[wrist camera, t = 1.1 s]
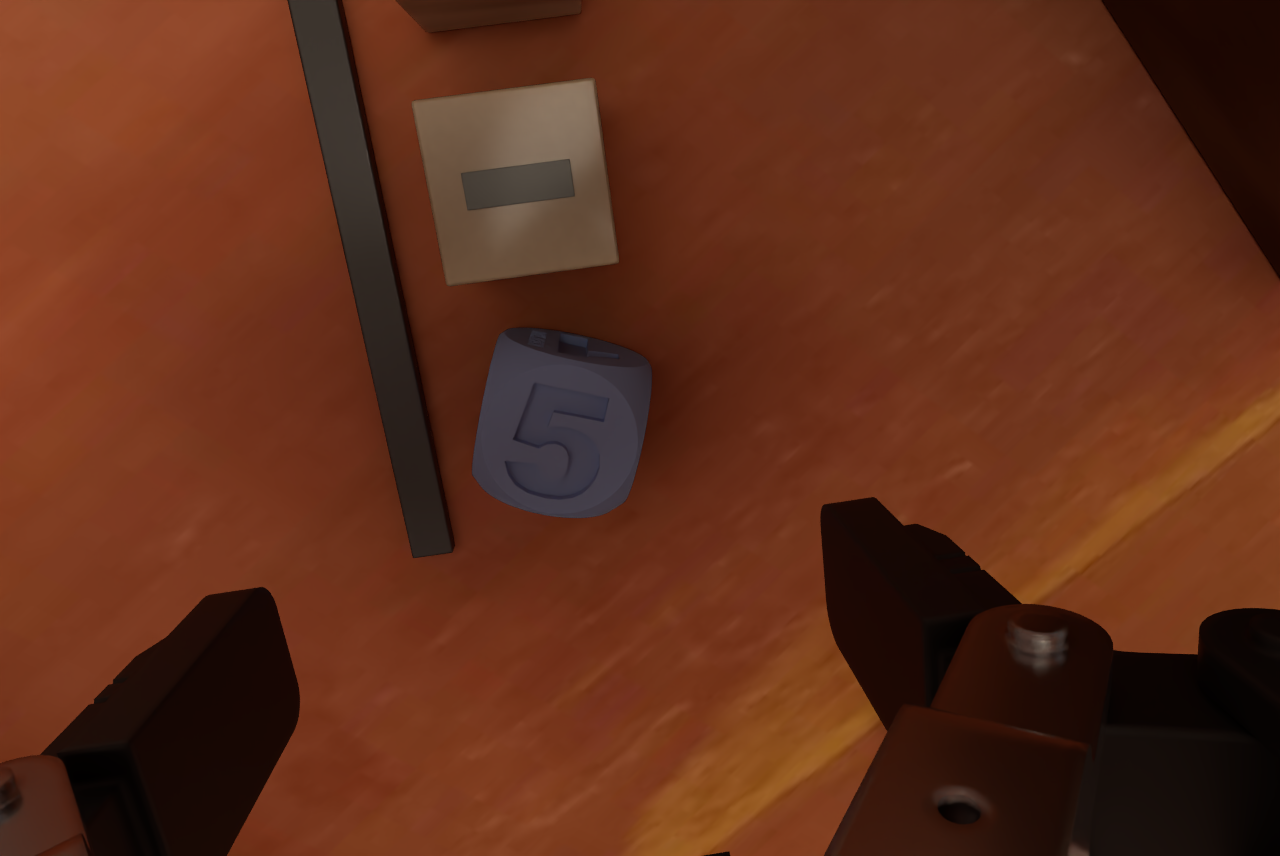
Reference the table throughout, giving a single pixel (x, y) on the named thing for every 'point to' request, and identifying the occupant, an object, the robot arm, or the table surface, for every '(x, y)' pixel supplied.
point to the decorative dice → (561, 423)
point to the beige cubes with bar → (454, 207)
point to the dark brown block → (1220, 92)
